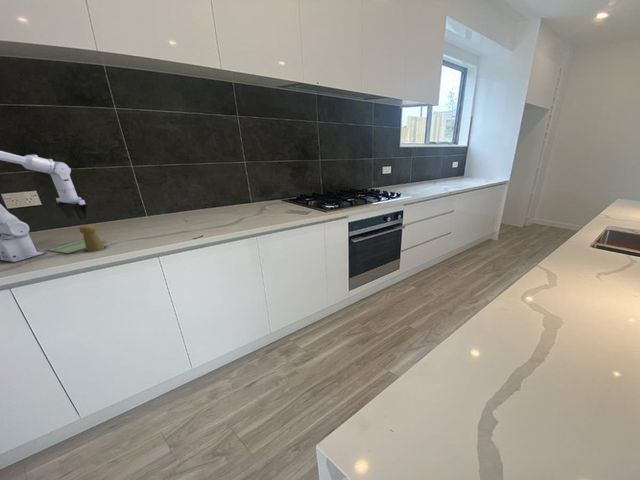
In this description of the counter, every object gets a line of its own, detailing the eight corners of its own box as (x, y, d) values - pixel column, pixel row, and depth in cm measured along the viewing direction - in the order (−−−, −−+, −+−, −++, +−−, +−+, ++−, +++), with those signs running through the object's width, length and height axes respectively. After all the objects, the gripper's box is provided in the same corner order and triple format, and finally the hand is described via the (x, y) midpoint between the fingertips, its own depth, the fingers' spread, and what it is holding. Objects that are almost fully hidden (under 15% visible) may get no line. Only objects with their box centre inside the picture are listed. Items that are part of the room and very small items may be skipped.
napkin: (68, 253, 128) (68, 252, 128) (48, 250, 131) (47, 249, 130) (103, 242, 141) (103, 241, 140) (84, 239, 143) (83, 238, 143)
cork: (88, 252, 130) (78, 228, 125) (84, 249, 133) (75, 225, 128) (106, 248, 134) (97, 225, 130) (102, 245, 137) (93, 222, 133)
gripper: (87, 188, 136) (98, 217, 142) (64, 186, 139) (76, 214, 145) (69, 191, 130) (81, 221, 135) (45, 189, 133) (58, 218, 138)
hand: (77, 218), depth 140 cm, fingers open, 7 cm apart
